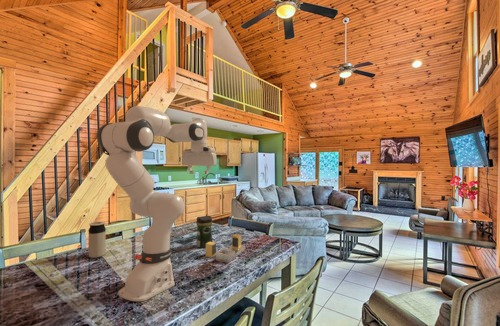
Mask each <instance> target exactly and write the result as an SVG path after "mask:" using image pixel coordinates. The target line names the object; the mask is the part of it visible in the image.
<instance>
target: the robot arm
mask: <svg viewBox="0 0 500 326" xmlns="http://www.w3.org/2000/svg"><path fill="white" fill-rule="evenodd" d="M155 137H163V138H166V139H167V140H168V141H169V142H171V143H190V148H189V149H188V148H185V149H184V150H183V151H182V157H181V164H182V165H183V166H187V169H188V170H189V174H194V170H193V169H192V167H193V166H194V167H197V166H198V167H200V166H201V167H204V166H205V167H206V168H205V170H204V174H205V175H209V171H210V170H211V167H214V166H216V165H217V164H218V162H217V161H218V159H217V154H216V148H214V147H212V146H208V139H207V138H208V125H207V121H206V120H204V119H202V118H194V119H192V121H190V122H187V123H171V120H170V117H169V115H168V114H166V113H164V112H163V111H161V110H158V109H155V108H152V107H148V106H142V105H141V106H139V105H135V106H132V107H130V108H129V109H128V110H127V112H126V115H125V121H118V122H109V123H105V124H103V125H101V126H100V127H99V128H98V129H97V131H96V141H97V143H98V145H99V147H100V148H101V150H102V152H103V154H104V155H107V158H105V163H104V164H105V168H106V169H107V172H108V173H109V175H110V176H111V177H112V179H113V180H114V181H115V183H117V185H118V186H119V187H120V188H121V189H122V190H123V191H124V192H125V194H126V195H128V197H129V198H130V201H129V209H130V211H131V212H132V213H133V214H135V215H137V216H140V217H143V218H151V219H152V222H151V225H150V227H148V228H146V229H145V230H144V231H143V234H142V250H141V253H140V254H135V256H134V260H138V263H137V264H136V265H135V266H134V268H133V269H132V270H131V271H130V272H129V274H128V275H127V276H126V278H125V284H124V286H123V287H122V288H120V289H119V290H118V296H119V297H120V298H121V299H125V300H128V301H130V302H145V301H147V300H149V299H151V298H153V297H155V296H157V295H159V294H161V293H162V292H164V291H166V290H168V289H170V288H172V287H174V286H175V281H174V275H173V274H174V273H173V266H172V262H171V257H172V247H171V233H172V227H173V225H174V223H175V222H176V221H177V220H178V219H179V218H180V217H181V216H182V215H183V213H184V211H185V202H184V201H185V200H184V199H183V198H182V197H181V196H180V195H178V194H175V193H174V194H173V193H169V192H168V193H167V192H158V191H156V190H154V187H155V179H154V178H153V177H152V175H151V174H150V172H148V170H147V169H146V167H144V165H143V164H142V163H141V161H140V160H138V158H137V155H136V152H137V153H138V152H144V151H147V150H149V149H150V148H152V146H153V144H154V141H155Z"/></svg>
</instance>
